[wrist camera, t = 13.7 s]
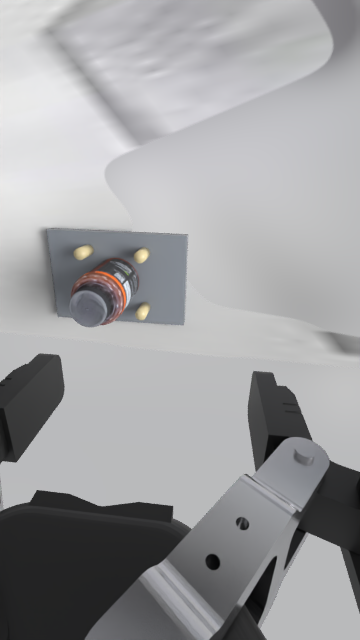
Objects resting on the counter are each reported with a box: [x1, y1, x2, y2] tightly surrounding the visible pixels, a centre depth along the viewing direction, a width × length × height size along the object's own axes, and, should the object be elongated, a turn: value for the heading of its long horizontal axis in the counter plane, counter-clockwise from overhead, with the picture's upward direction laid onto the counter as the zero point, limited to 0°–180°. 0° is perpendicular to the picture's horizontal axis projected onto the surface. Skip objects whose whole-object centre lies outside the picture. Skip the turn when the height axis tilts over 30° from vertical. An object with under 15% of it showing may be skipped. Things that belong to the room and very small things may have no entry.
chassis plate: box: [47, 228, 188, 325], centre depth 41 cm, size 12×18×4 cm, turn 88°
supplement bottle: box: [69, 258, 139, 327], centre depth 36 cm, size 6×6×11 cm
